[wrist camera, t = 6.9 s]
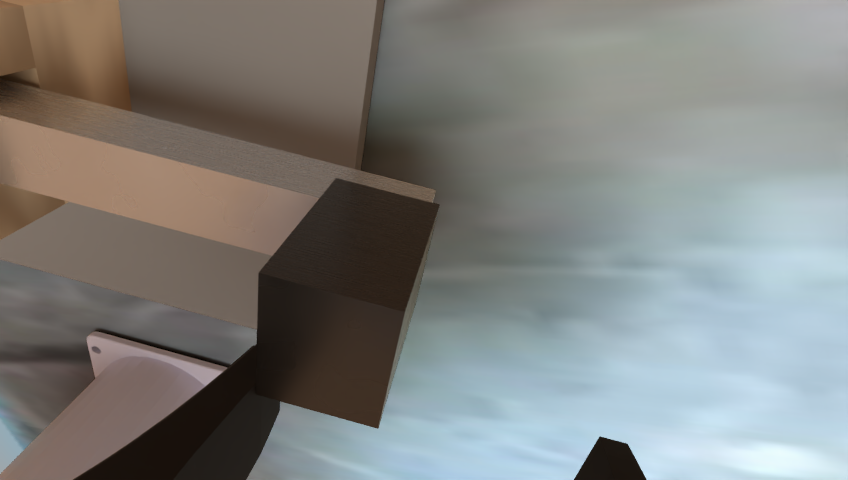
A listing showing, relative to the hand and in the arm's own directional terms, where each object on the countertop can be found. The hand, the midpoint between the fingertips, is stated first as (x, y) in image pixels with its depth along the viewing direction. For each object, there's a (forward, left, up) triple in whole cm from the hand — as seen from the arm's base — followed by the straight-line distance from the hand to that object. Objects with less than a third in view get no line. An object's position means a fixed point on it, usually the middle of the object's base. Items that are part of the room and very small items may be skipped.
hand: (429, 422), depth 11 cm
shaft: (+3, +9, -4) cm, 10 cm away
